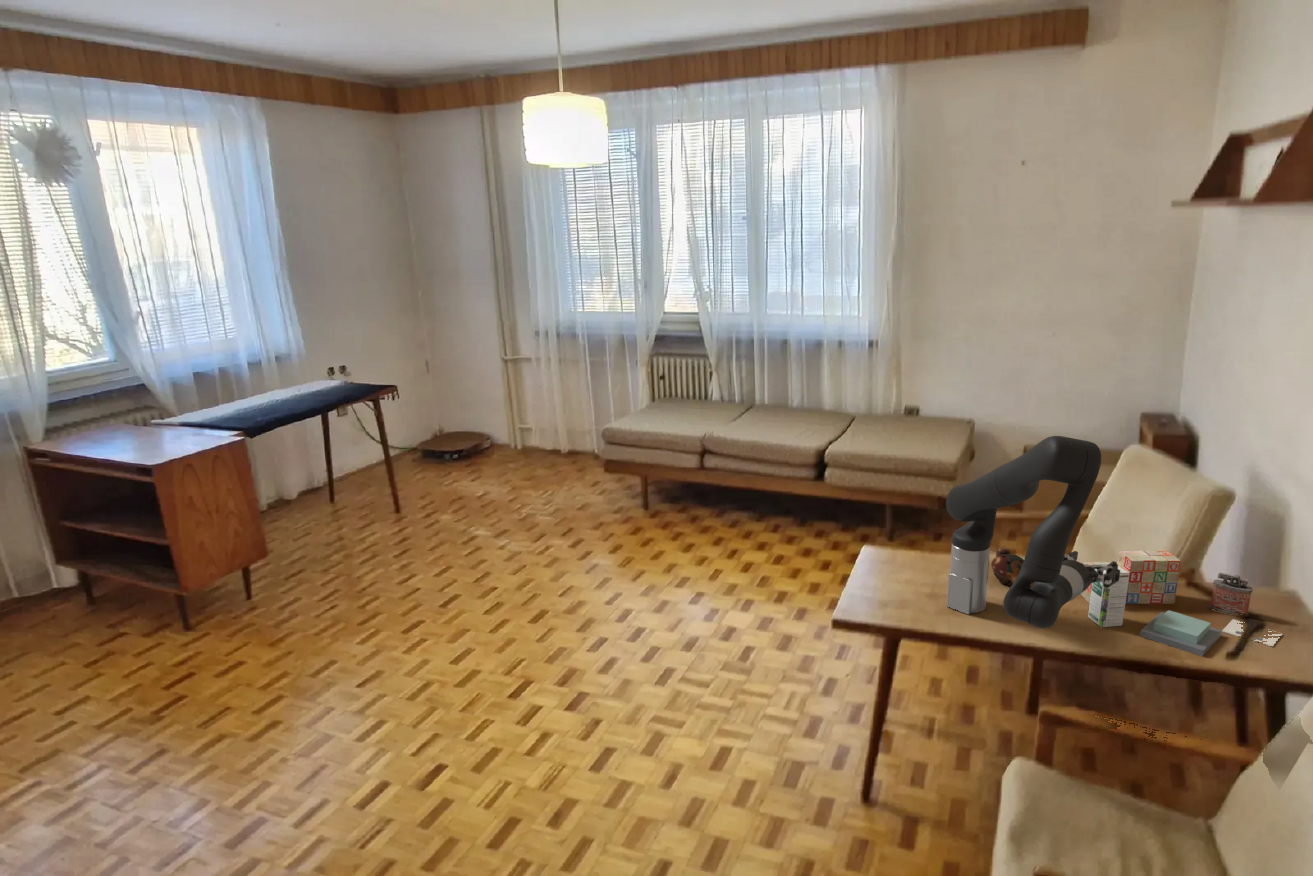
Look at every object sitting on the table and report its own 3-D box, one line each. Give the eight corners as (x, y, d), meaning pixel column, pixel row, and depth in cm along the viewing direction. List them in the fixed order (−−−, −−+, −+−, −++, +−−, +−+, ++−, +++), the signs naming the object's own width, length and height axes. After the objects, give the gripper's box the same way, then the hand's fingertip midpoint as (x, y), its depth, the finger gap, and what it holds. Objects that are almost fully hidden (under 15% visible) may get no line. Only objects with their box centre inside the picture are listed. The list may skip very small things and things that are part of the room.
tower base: (1202, 656, 184) (1204, 642, 183) (1140, 635, 194) (1141, 622, 193) (1221, 636, 192) (1223, 623, 191) (1160, 617, 202) (1162, 604, 201)
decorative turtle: (1011, 568, 232) (1016, 543, 229) (1039, 595, 217) (1044, 568, 215) (978, 569, 231) (983, 543, 228) (1004, 596, 217) (1009, 569, 214)
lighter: (1249, 614, 201) (1255, 577, 199) (1246, 619, 199) (1253, 582, 196) (1210, 604, 207) (1216, 569, 204) (1208, 609, 204) (1213, 573, 202)
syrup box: (1086, 616, 203) (1092, 564, 199) (1109, 615, 204) (1115, 562, 200) (1100, 628, 198) (1107, 573, 194) (1123, 626, 198) (1130, 572, 194)
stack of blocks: (1089, 604, 210) (1094, 561, 206) (1078, 593, 216) (1083, 551, 212) (1175, 604, 208) (1181, 560, 205) (1161, 592, 214) (1167, 550, 211)
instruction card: (1272, 647, 186) (1272, 645, 186) (1222, 631, 194) (1222, 630, 194) (1282, 634, 191) (1282, 633, 191) (1232, 620, 199) (1232, 618, 199)
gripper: (1101, 575, 172) (1130, 553, 183) (1034, 557, 183) (1065, 537, 193) (1097, 607, 174) (1126, 584, 185) (1031, 587, 185) (1062, 566, 195)
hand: (1095, 560), depth 189 cm, fingers open, 8 cm apart
